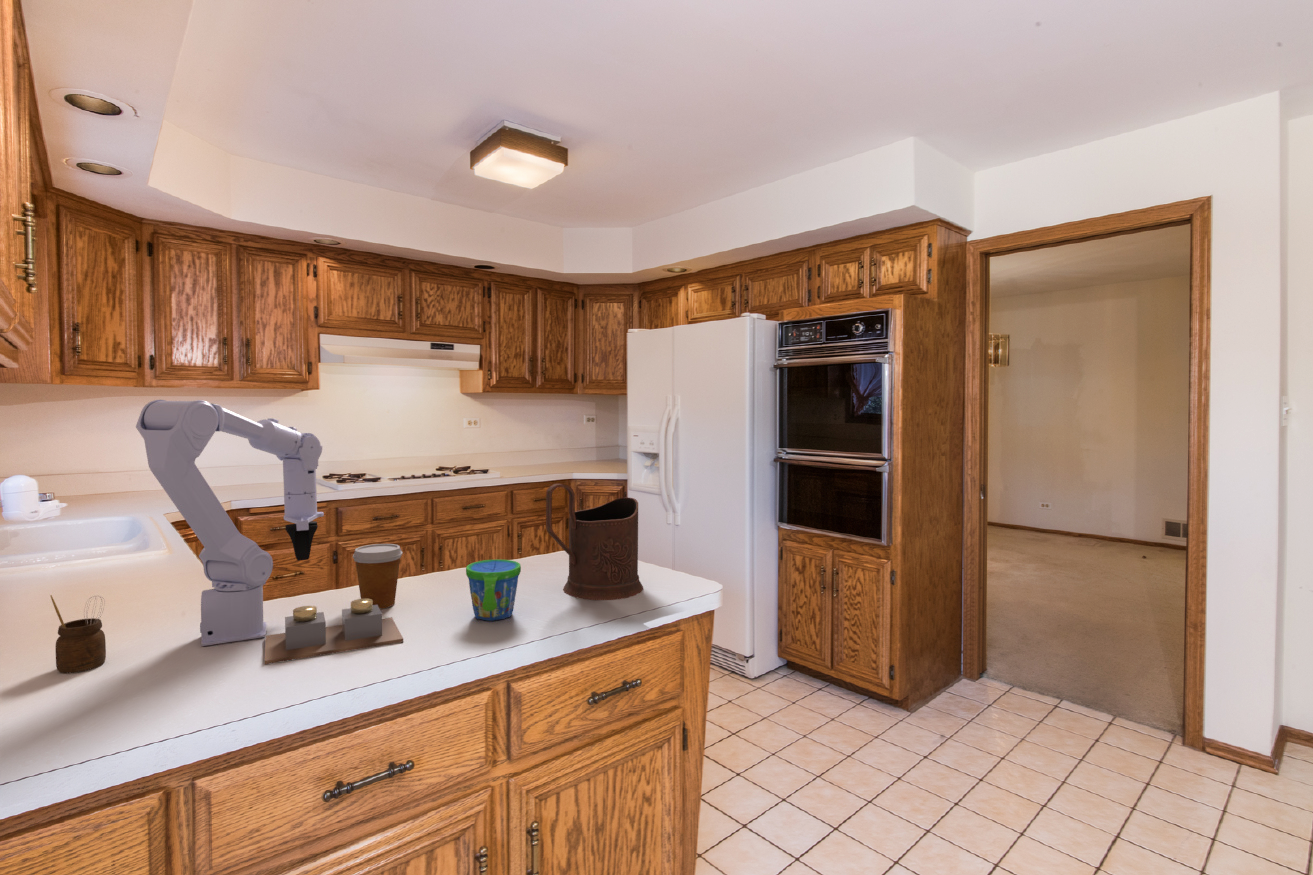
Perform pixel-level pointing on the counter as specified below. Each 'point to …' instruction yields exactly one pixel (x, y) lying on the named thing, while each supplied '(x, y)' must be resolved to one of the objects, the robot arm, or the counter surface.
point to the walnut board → (329, 643)
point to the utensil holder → (80, 643)
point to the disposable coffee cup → (378, 572)
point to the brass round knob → (361, 606)
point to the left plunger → (305, 613)
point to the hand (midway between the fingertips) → (302, 559)
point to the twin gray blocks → (315, 629)
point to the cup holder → (600, 548)
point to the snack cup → (493, 588)
